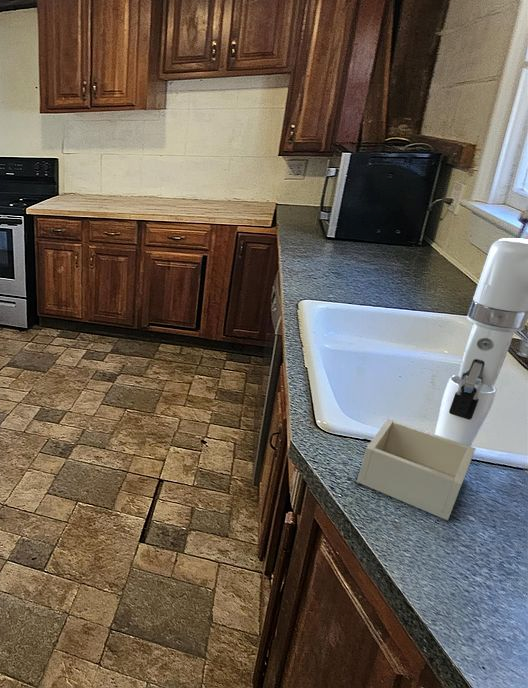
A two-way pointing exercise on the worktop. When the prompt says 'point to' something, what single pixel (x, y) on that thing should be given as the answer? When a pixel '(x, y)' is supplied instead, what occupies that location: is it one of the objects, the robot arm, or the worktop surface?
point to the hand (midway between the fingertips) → (464, 407)
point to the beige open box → (416, 467)
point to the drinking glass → (459, 426)
